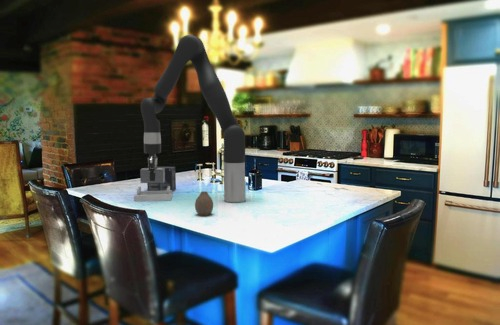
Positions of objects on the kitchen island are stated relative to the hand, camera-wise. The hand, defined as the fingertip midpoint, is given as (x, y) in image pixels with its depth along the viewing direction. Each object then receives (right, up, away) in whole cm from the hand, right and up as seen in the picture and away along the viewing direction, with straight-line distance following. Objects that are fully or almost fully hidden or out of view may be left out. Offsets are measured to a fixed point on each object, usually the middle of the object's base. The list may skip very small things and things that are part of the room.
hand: (152, 179), depth 182 cm
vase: (+27, -12, -29) cm, 41 cm away
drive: (0, -1, 0) cm, 1 cm away
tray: (0, -9, +1) cm, 9 cm away
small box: (-1, -7, +21) cm, 22 cm away
